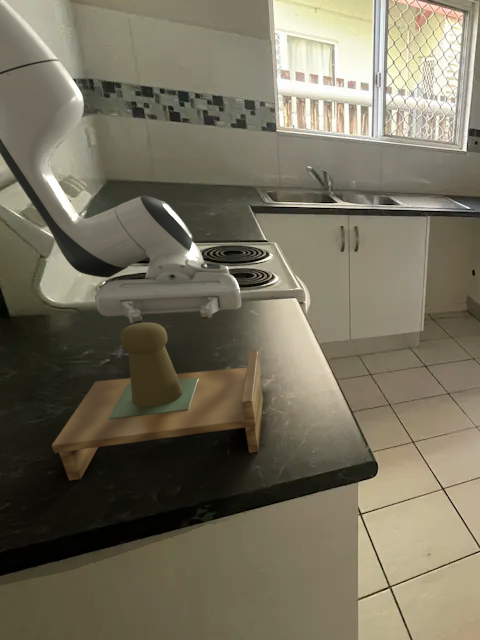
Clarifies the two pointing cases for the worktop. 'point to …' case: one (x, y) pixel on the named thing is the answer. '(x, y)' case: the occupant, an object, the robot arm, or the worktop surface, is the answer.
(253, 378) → the shelf
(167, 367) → the cork
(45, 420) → the worktop surface
